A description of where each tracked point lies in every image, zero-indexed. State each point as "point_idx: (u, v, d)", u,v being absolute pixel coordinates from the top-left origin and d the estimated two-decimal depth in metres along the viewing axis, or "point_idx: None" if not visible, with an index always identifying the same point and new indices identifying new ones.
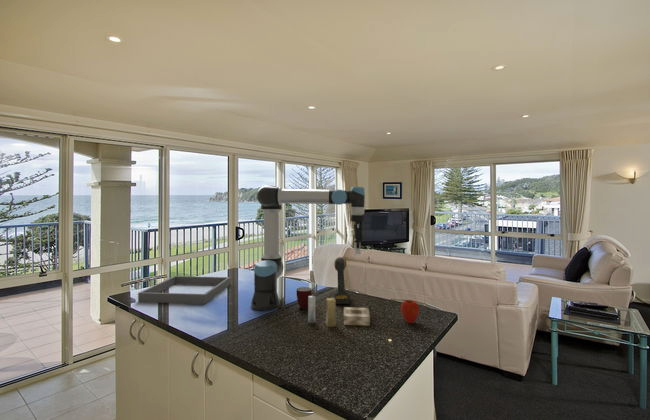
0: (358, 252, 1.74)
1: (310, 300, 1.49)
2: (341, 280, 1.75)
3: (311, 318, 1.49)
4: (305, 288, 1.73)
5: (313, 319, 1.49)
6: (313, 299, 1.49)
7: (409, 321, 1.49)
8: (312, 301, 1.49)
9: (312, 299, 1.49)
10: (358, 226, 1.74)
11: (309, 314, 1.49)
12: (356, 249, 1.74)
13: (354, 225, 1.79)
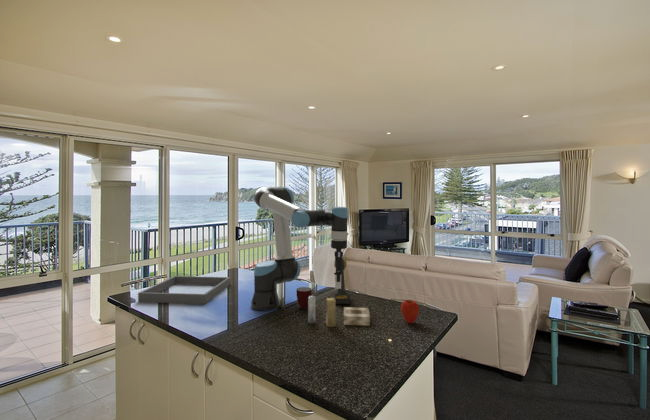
0: (338, 286, 1.45)
1: (310, 300, 1.49)
2: (341, 280, 1.75)
3: (311, 318, 1.49)
4: (305, 288, 1.73)
5: (313, 319, 1.49)
6: (313, 299, 1.49)
7: (409, 321, 1.49)
8: (312, 301, 1.49)
9: (312, 299, 1.49)
10: (339, 255, 1.45)
11: (309, 314, 1.49)
12: (336, 282, 1.45)
13: (335, 253, 1.50)
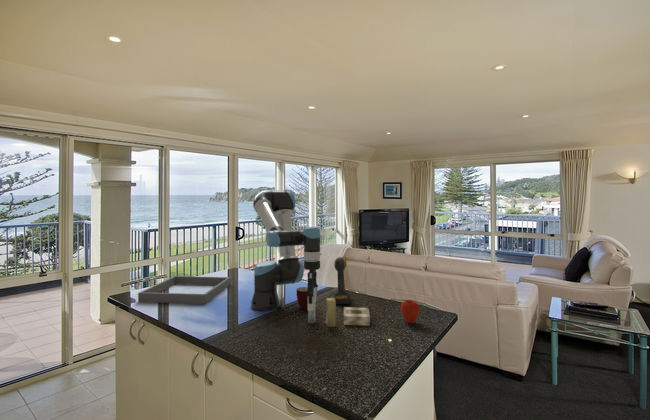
0: (311, 308, 1.43)
1: None
2: (341, 280, 1.75)
3: (311, 318, 1.49)
4: (305, 288, 1.73)
5: (313, 319, 1.49)
6: None
7: (409, 321, 1.49)
8: None
9: None
10: (311, 276, 1.43)
11: (309, 314, 1.49)
12: (308, 304, 1.43)
13: None
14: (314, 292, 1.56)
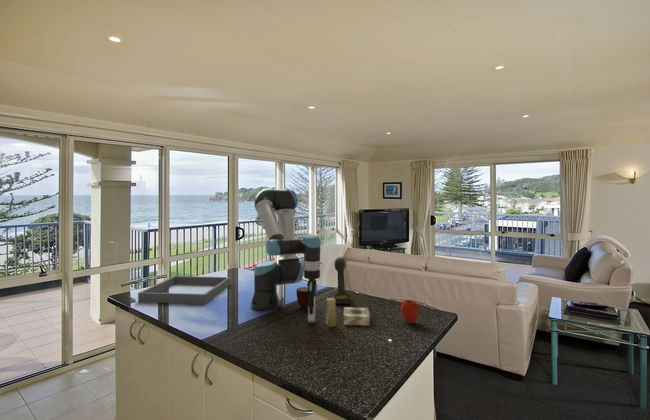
0: (311, 318, 1.48)
1: None
2: (341, 280, 1.75)
3: None
4: (305, 288, 1.73)
5: None
6: None
7: (409, 321, 1.49)
8: None
9: None
10: (310, 290, 1.44)
11: None
12: (309, 315, 1.48)
13: (307, 283, 1.48)
14: None
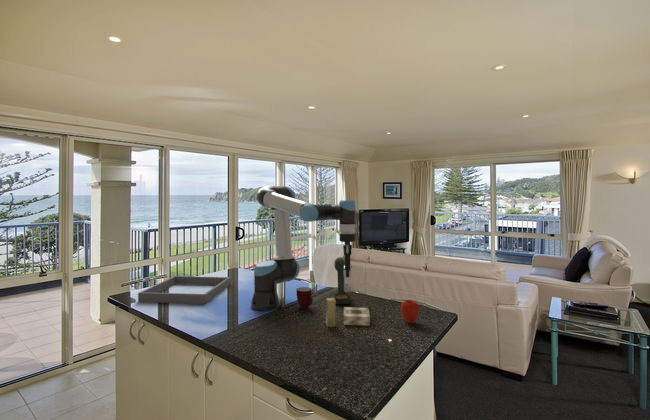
0: (348, 281, 1.49)
1: None
2: (341, 280, 1.75)
3: (347, 287, 1.50)
4: (305, 288, 1.73)
5: (349, 288, 1.50)
6: None
7: (409, 321, 1.49)
8: None
9: None
10: (347, 252, 1.45)
11: None
12: (346, 278, 1.49)
13: (343, 247, 1.49)
14: None
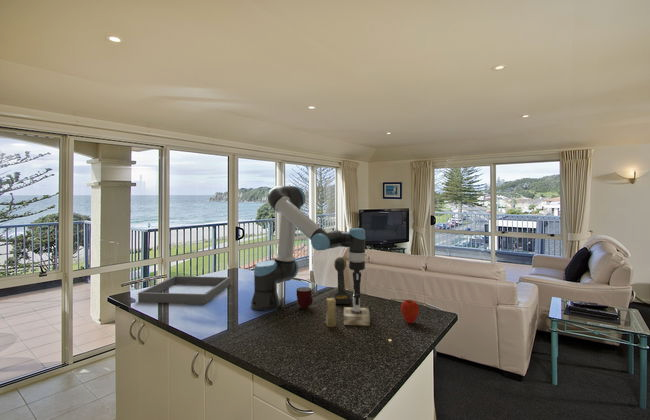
0: (357, 309, 1.48)
1: None
2: (341, 280, 1.75)
3: None
4: (305, 288, 1.73)
5: None
6: None
7: (409, 321, 1.49)
8: None
9: None
10: (357, 278, 1.46)
11: (354, 312, 1.52)
12: (355, 305, 1.48)
13: (353, 274, 1.51)
14: None
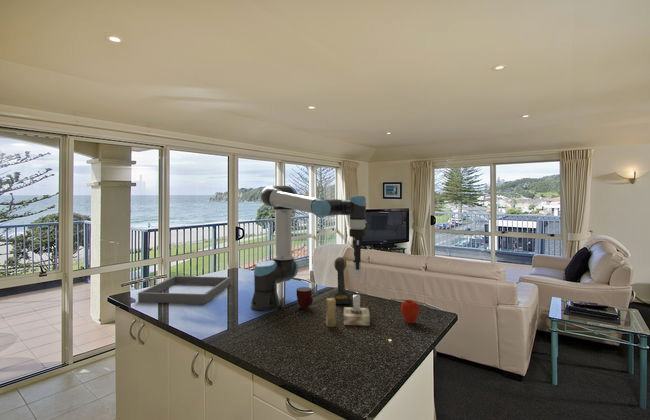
0: (358, 274, 1.46)
1: (355, 299, 1.52)
2: (341, 280, 1.75)
3: None
4: (305, 288, 1.73)
5: None
6: (358, 298, 1.52)
7: (409, 321, 1.49)
8: (357, 300, 1.52)
9: (357, 298, 1.51)
10: (358, 243, 1.46)
11: (354, 312, 1.52)
12: (355, 270, 1.46)
13: (353, 241, 1.51)
14: None
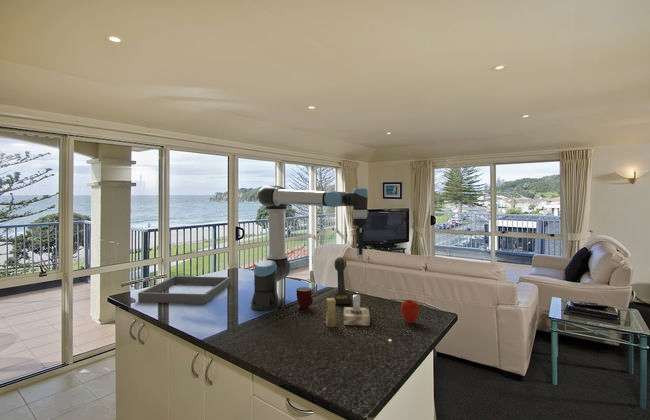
0: (361, 258, 1.61)
1: (355, 299, 1.52)
2: (341, 280, 1.75)
3: None
4: (305, 288, 1.73)
5: None
6: (358, 298, 1.52)
7: (409, 321, 1.49)
8: (357, 300, 1.52)
9: (357, 298, 1.51)
10: (361, 230, 1.61)
11: (354, 312, 1.52)
12: (358, 255, 1.61)
13: (356, 229, 1.66)
14: None
